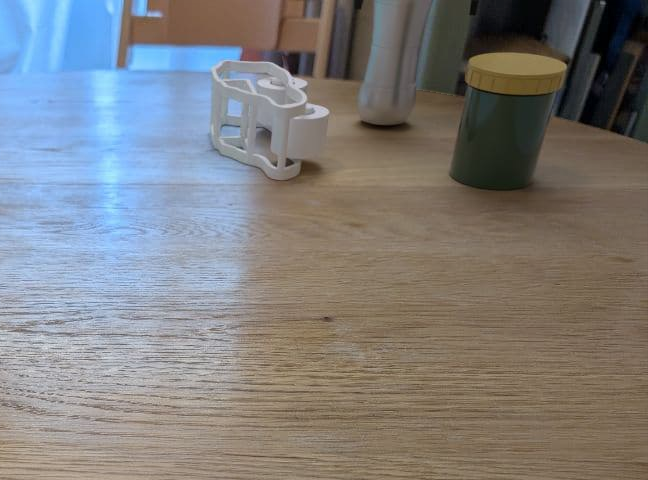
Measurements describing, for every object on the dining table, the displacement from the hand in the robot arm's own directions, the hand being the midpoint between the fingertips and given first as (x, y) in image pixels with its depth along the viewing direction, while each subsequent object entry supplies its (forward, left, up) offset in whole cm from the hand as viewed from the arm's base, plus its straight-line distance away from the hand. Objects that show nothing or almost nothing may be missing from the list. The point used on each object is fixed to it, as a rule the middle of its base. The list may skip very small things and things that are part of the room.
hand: (414, 5), depth 103 cm
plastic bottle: (+1, +11, -11) cm, 16 cm away
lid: (-11, +26, -1) cm, 28 cm away
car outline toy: (+13, +24, -11) cm, 29 cm away
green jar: (-11, +26, -11) cm, 30 cm away
